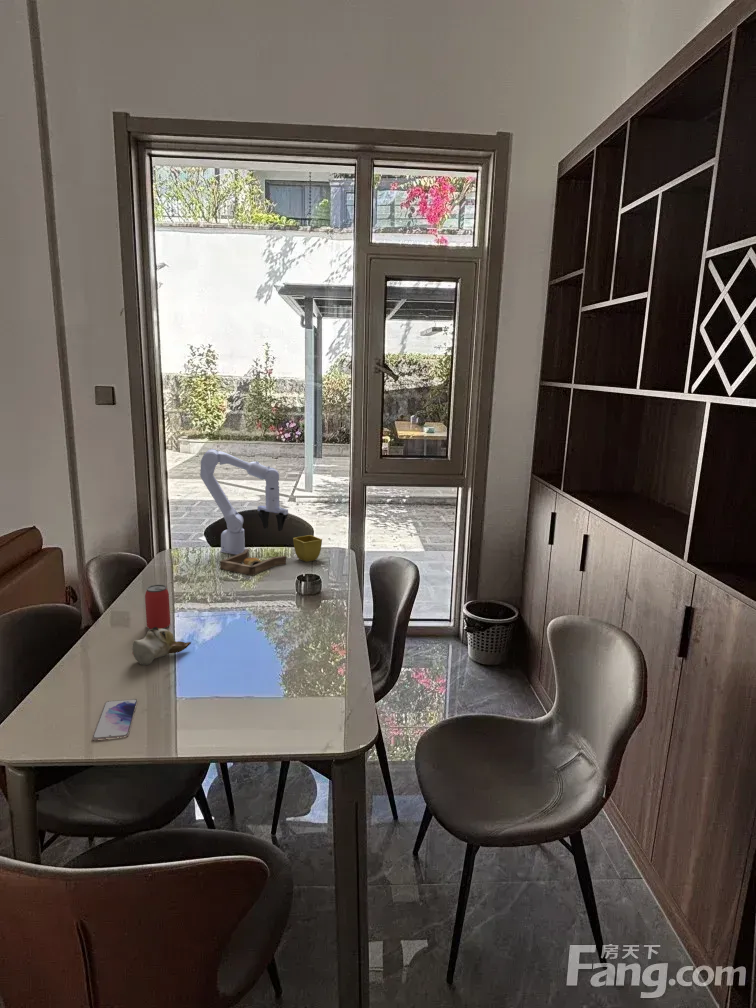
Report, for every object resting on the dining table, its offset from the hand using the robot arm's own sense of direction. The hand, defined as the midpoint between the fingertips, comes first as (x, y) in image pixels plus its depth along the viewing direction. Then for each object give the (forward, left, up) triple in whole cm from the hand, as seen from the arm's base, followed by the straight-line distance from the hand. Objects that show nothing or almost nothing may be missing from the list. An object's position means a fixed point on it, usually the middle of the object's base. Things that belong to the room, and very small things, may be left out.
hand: (273, 529), depth 255 cm
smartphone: (+49, -120, -10) cm, 130 cm away
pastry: (+6, -22, -10) cm, 25 cm away
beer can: (+19, -80, -10) cm, 83 cm away
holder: (+5, -21, -9) cm, 23 cm away
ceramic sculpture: (+33, -94, -10) cm, 100 cm away
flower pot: (+20, -3, -10) cm, 22 cm away
